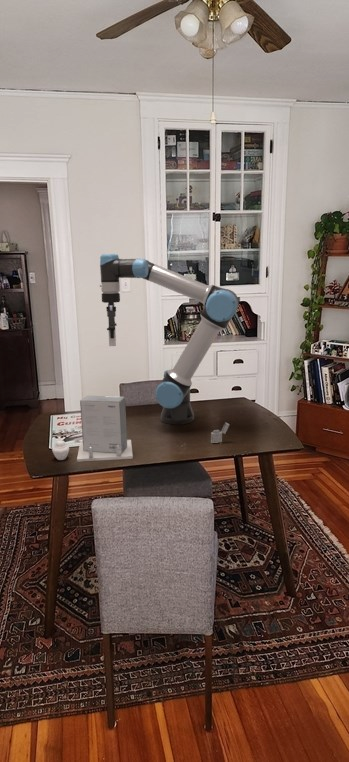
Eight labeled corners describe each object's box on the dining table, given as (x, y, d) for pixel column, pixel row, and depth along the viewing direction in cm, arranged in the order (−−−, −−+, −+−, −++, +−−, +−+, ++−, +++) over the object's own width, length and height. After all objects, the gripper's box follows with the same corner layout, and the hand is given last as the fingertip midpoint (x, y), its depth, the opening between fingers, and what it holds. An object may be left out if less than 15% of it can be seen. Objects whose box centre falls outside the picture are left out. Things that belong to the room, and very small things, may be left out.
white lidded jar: (49, 460, 178) (48, 442, 176) (59, 454, 183) (57, 436, 182) (63, 462, 176) (62, 444, 174) (73, 456, 181) (72, 438, 180)
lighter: (212, 444, 192) (212, 424, 191) (210, 442, 194) (210, 423, 192) (229, 442, 194) (229, 423, 192) (227, 441, 196) (228, 422, 194)
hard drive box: (127, 446, 188) (126, 396, 183) (122, 453, 181) (120, 401, 176) (89, 444, 191) (86, 394, 186) (82, 451, 184) (79, 400, 179)
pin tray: (131, 442, 196) (130, 430, 194) (132, 458, 179) (132, 445, 177) (80, 444, 193) (79, 432, 192) (77, 461, 176) (76, 448, 175)
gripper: (102, 291, 214) (104, 339, 219) (100, 294, 190) (103, 348, 195) (119, 291, 215) (121, 339, 220) (120, 294, 191) (121, 347, 195)
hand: (112, 343), depth 207 cm, fingers open, 13 cm apart
